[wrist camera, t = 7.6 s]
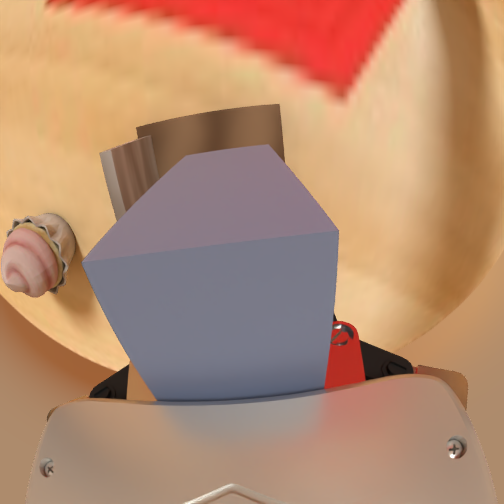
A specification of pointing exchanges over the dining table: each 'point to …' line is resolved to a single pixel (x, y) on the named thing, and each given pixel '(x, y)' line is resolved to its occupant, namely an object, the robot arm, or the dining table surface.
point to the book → (222, 280)
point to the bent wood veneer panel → (184, 147)
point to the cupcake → (37, 254)
